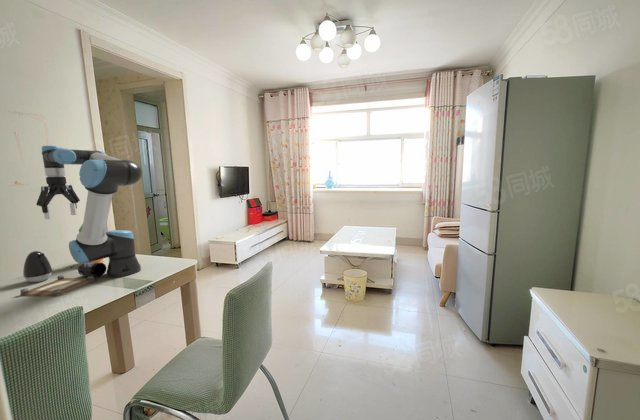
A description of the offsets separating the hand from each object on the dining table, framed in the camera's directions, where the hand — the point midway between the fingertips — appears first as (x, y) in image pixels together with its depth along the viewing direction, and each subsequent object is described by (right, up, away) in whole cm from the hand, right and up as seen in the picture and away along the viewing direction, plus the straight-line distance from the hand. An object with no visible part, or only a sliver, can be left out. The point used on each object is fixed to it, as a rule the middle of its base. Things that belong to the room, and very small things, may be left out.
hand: (61, 217), depth 146 cm
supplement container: (+12, -29, -3) cm, 31 cm away
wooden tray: (+14, -33, -16) cm, 39 cm away
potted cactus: (0, -28, +21) cm, 35 cm away
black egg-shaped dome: (-5, -32, -6) cm, 33 cm away
